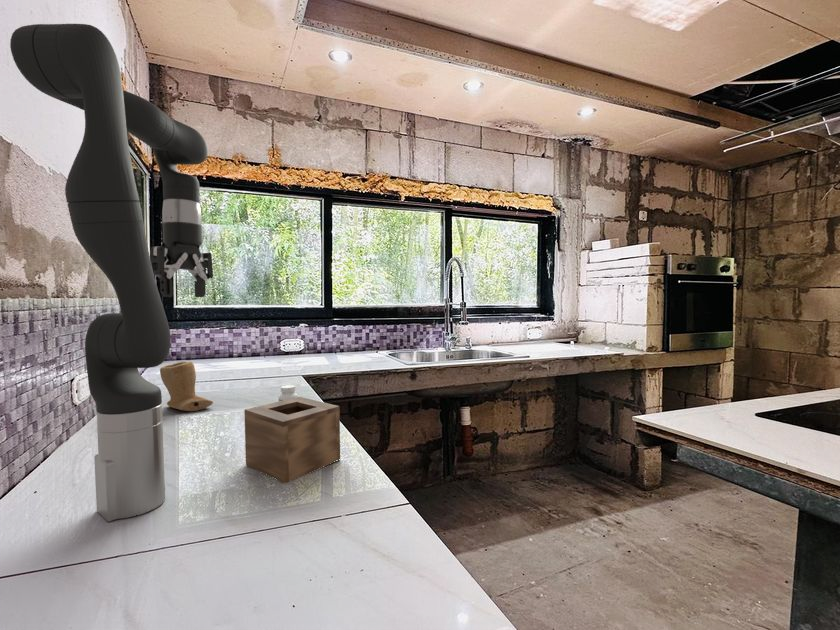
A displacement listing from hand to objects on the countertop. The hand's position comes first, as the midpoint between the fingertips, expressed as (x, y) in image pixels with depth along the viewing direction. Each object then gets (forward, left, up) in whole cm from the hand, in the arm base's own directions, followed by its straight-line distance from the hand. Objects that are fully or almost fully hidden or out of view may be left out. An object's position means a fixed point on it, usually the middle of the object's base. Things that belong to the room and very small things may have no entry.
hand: (184, 297), depth 94 cm
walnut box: (+12, -22, -36) cm, 44 cm away
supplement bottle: (+30, +6, -36) cm, 47 cm away
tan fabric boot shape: (+17, +43, -36) cm, 59 cm away
